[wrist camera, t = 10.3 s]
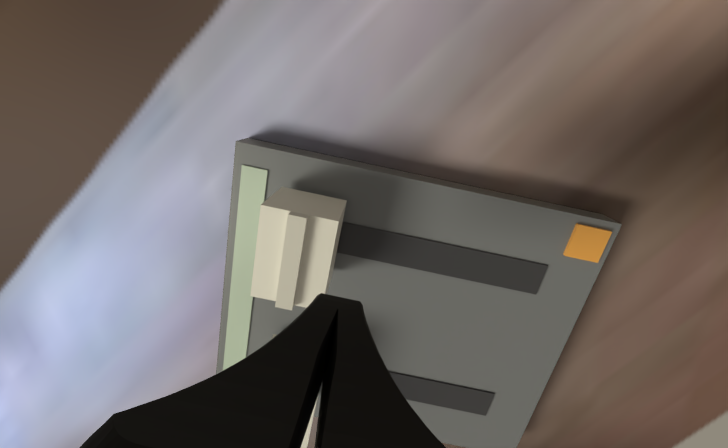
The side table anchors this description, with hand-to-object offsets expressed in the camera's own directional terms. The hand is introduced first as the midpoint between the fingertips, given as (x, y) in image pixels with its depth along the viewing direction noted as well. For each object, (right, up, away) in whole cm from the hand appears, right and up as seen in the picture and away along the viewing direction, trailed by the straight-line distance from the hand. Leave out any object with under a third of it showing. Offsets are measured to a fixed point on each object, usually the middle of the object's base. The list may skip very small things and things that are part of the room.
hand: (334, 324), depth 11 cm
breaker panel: (+3, -2, +9) cm, 10 cm away
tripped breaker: (-2, +3, +6) cm, 7 cm away
